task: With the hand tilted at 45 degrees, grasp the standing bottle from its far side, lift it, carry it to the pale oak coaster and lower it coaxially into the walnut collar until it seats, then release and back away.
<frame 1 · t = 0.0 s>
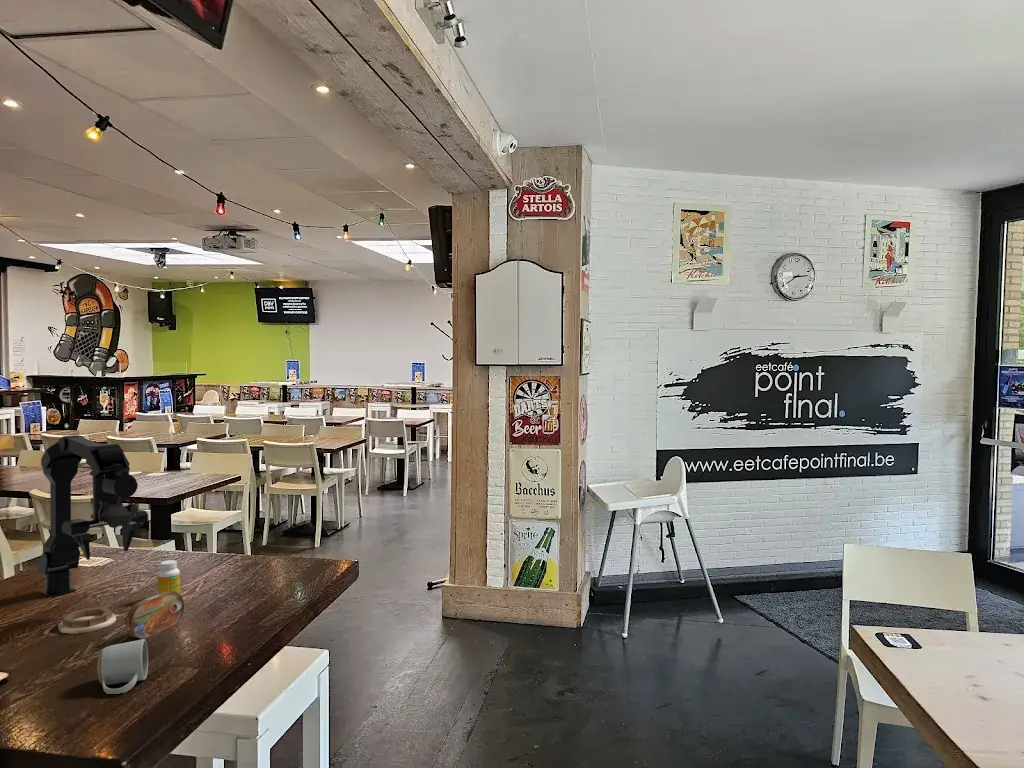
hand: (107, 555, 180), 15 cm above the table, tool pointing down, fingers open, 9 cm apart
collar stand: (87, 624, 172), on the table
supplement bottle: (169, 598, 192), on the table
tin: (155, 632, 167), on the table
ceramic mug: (124, 684, 140), on the table
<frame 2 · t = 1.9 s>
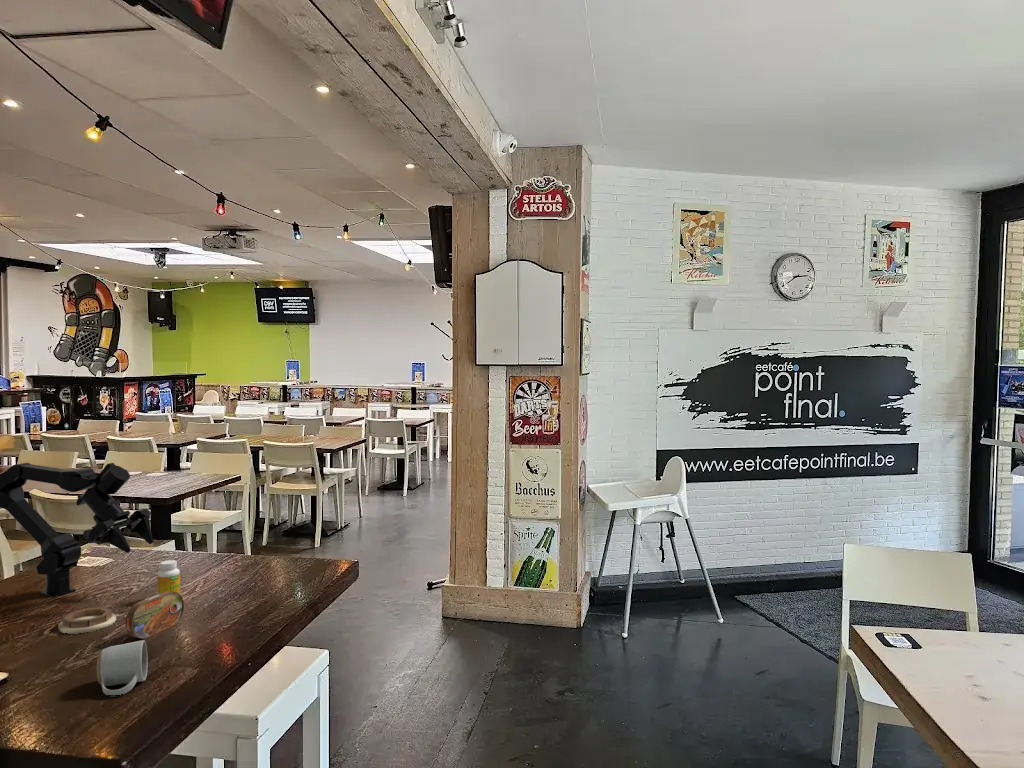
hand: (140, 547, 193), 13 cm above the table, tool tilted 45°, fingers open, 9 cm apart
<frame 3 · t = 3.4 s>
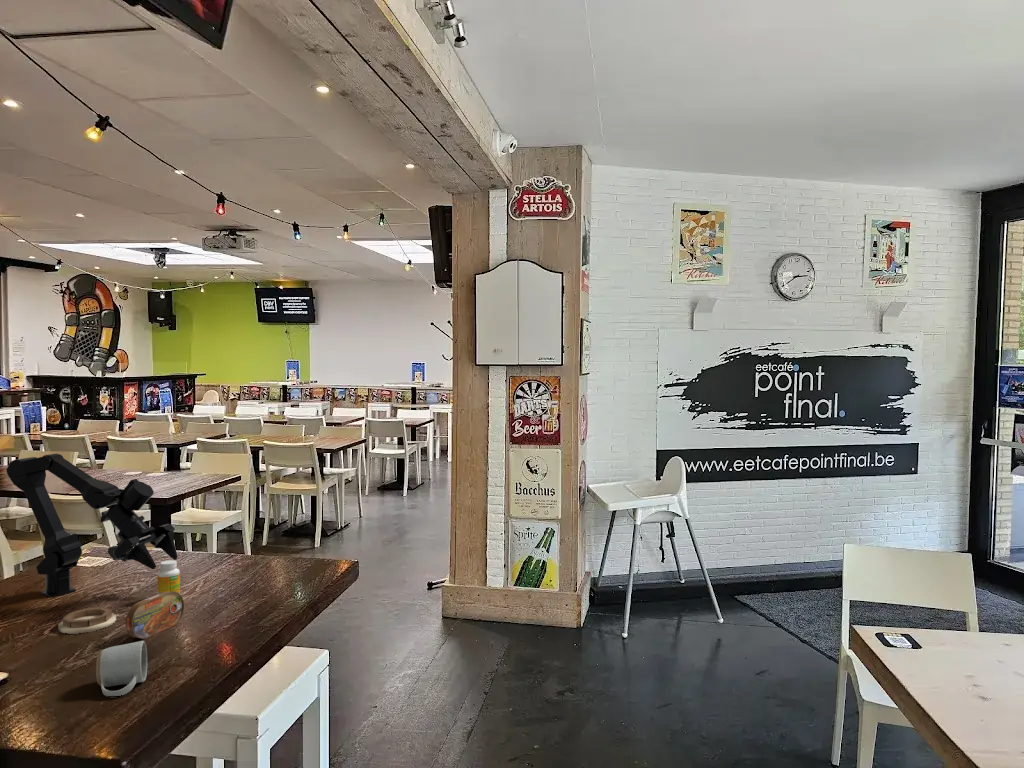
hand: (165, 563, 192), 9 cm above the table, tool tilted 45°, fingers open, 9 cm apart
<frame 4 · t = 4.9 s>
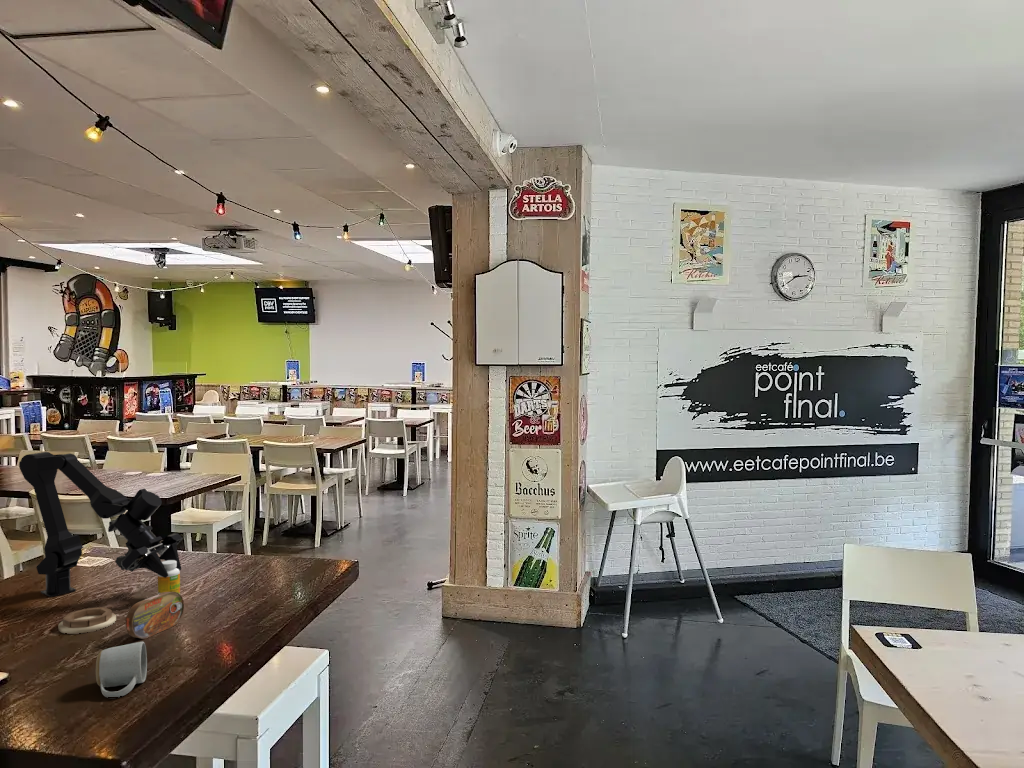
hand: (173, 573, 191), 7 cm above the table, tool tilted 45°, fingers closed on supplement bottle, 5 cm apart
supplement bottle: (169, 598, 192), on the table, touching gripper
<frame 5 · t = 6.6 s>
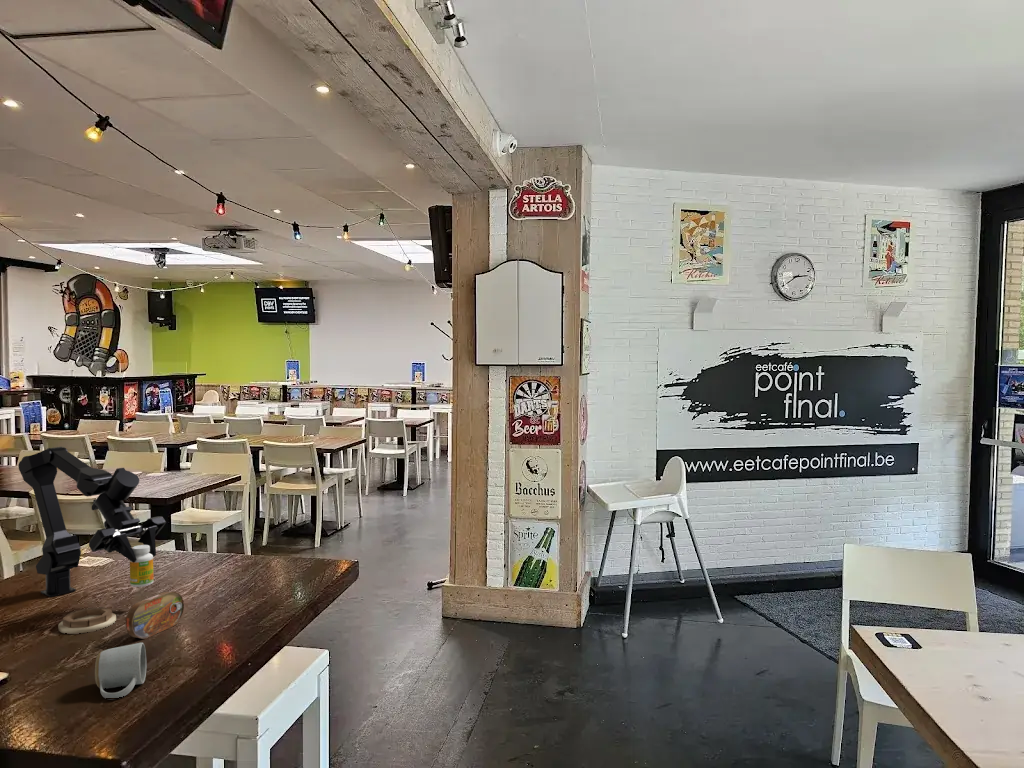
hand: (145, 558, 182), 13 cm above the table, tool tilted 45°, fingers closed on supplement bottle, 5 cm apart
supplement bottle: (142, 584, 183), point 6 cm above the table, touching gripper
when the fingers open (9 cm above the table, at t = 8.7 s): supplement bottle drops 1 cm, resting on collar stand.
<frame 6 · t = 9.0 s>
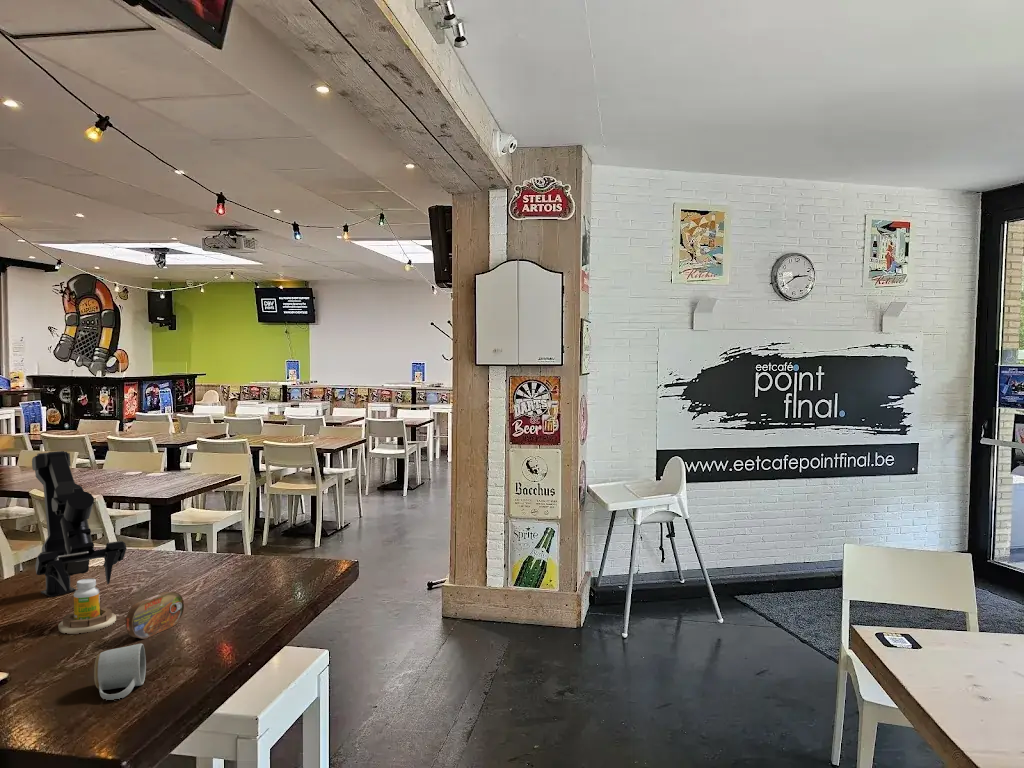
hand: (88, 586, 171), 10 cm above the table, tool tilted 45°, fingers open, 8 cm apart
supplement bottle: (87, 621, 172), point 1 cm above the table, touching collar stand
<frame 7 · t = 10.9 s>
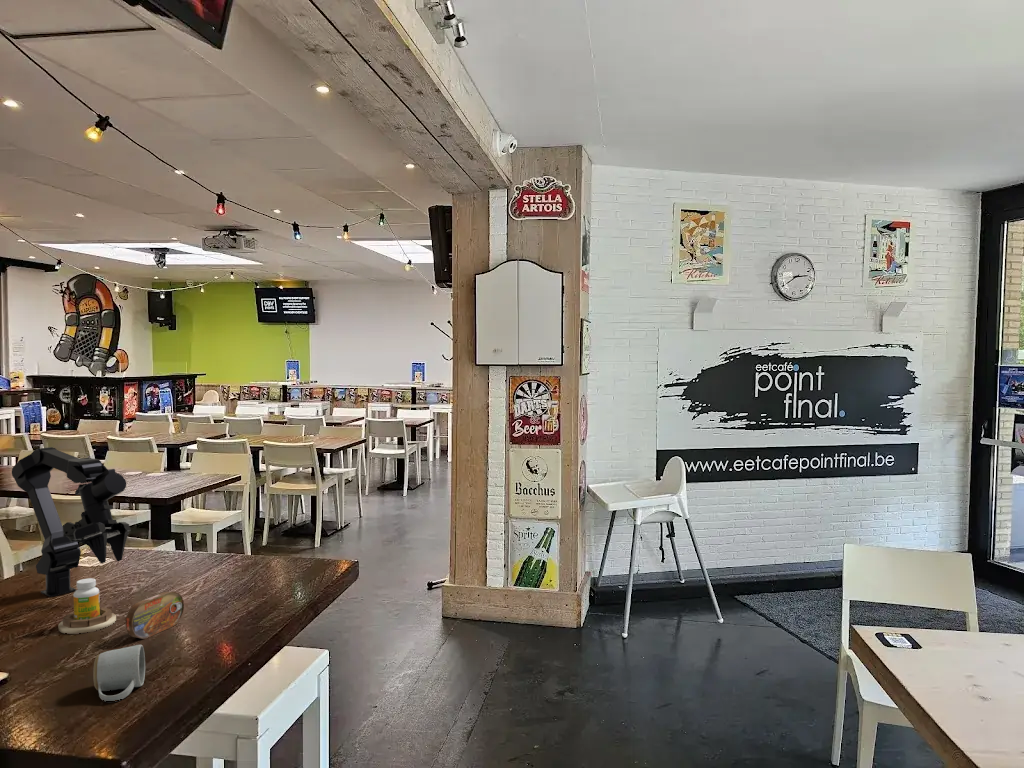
hand: (111, 561, 186), 11 cm above the table, tool tilted 25°, fingers open, 9 cm apart
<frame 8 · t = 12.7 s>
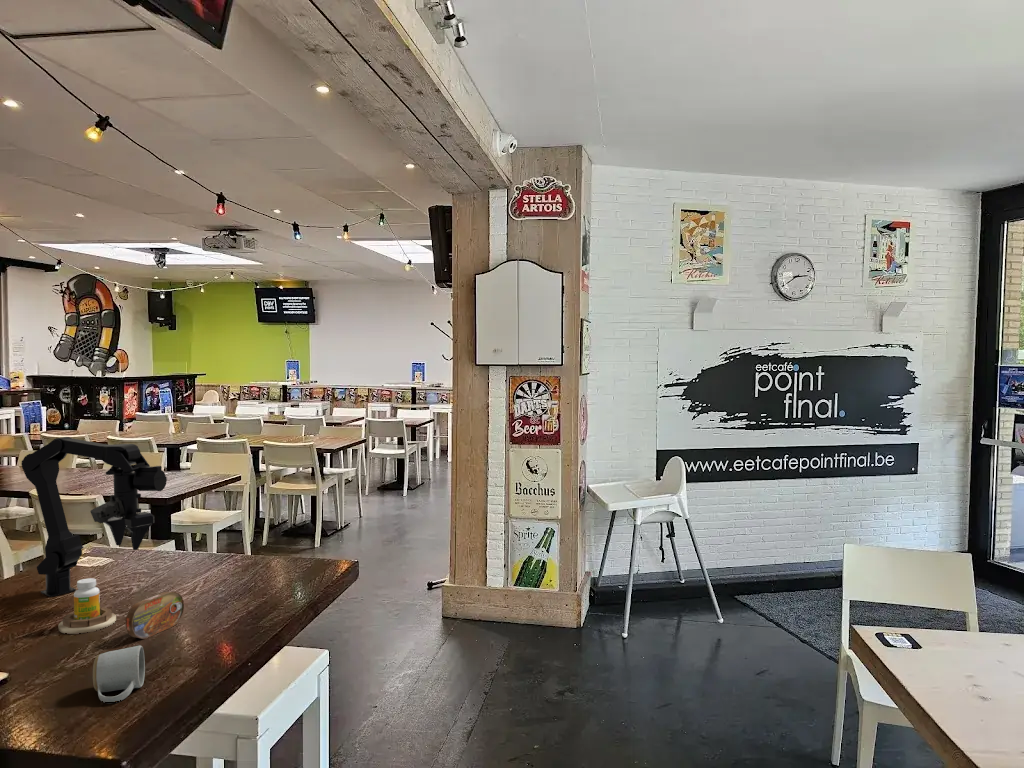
hand: (126, 547, 194), 13 cm above the table, tool pointing down, fingers open, 9 cm apart
at the end: supplement bottle 0.2 cm from the collar stand (horizontally); supplement bottle tilted 0°; the gripper is holding nothing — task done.
